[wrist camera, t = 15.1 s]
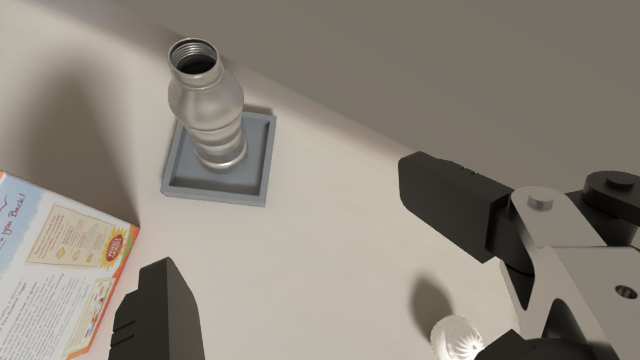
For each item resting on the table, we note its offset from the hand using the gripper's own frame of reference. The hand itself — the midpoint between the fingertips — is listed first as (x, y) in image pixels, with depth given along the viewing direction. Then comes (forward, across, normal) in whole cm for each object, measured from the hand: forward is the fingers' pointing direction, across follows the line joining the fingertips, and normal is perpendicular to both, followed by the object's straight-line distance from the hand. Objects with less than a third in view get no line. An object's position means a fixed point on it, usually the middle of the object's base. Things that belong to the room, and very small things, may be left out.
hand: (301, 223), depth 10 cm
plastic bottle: (+33, 0, +10) cm, 34 cm away
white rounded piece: (+9, -16, +34) cm, 39 cm away
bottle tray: (+33, 0, +10) cm, 35 cm away
